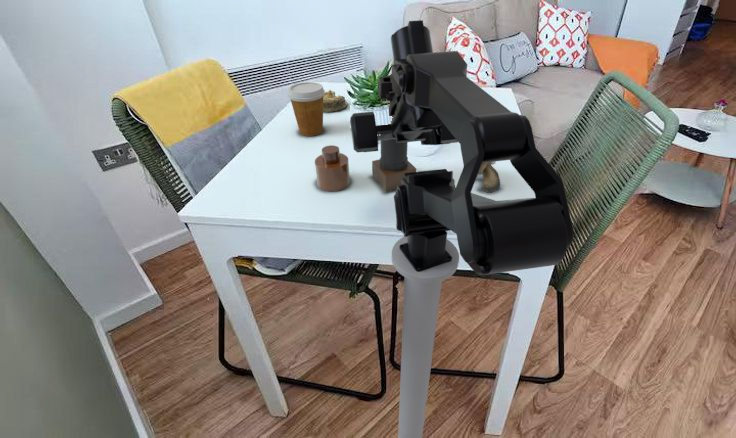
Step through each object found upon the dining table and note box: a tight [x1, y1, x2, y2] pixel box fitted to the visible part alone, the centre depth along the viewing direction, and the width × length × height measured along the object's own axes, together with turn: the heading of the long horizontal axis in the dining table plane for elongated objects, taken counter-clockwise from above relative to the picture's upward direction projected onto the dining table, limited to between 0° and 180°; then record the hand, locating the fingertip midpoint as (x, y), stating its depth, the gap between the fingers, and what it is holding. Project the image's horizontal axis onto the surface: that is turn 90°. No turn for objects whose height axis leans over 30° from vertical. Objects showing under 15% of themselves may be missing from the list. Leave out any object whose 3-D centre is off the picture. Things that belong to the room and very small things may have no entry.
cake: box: [323, 89, 349, 113], centre depth 116 cm, size 10×10×5 cm
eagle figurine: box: [476, 161, 501, 194], centre depth 79 cm, size 8×7×9 cm
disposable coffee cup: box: [287, 81, 326, 137], centre depth 100 cm, size 10×10×12 cm
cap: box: [379, 133, 409, 171], centre depth 77 cm, size 5×5×8 cm
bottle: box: [314, 144, 351, 192], centre depth 79 cm, size 7×7×8 cm
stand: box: [371, 158, 417, 193], centre depth 80 cm, size 7×7×4 cm
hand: (398, 144), depth 72 cm, fingers open, 9 cm apart
